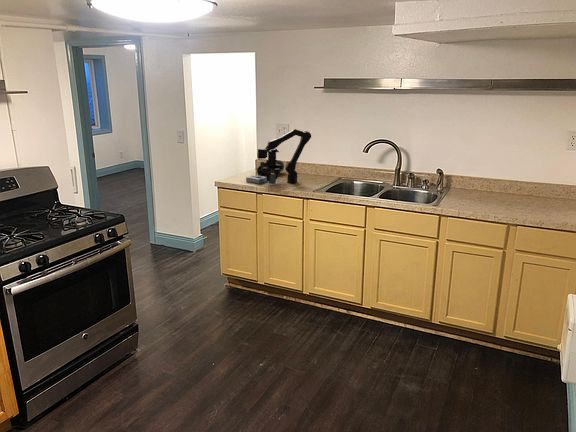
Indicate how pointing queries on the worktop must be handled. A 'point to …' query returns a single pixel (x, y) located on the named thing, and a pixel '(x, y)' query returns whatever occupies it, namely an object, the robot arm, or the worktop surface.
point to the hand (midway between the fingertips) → (272, 180)
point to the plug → (272, 178)
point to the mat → (270, 183)
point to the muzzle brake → (271, 170)
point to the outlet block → (256, 179)
